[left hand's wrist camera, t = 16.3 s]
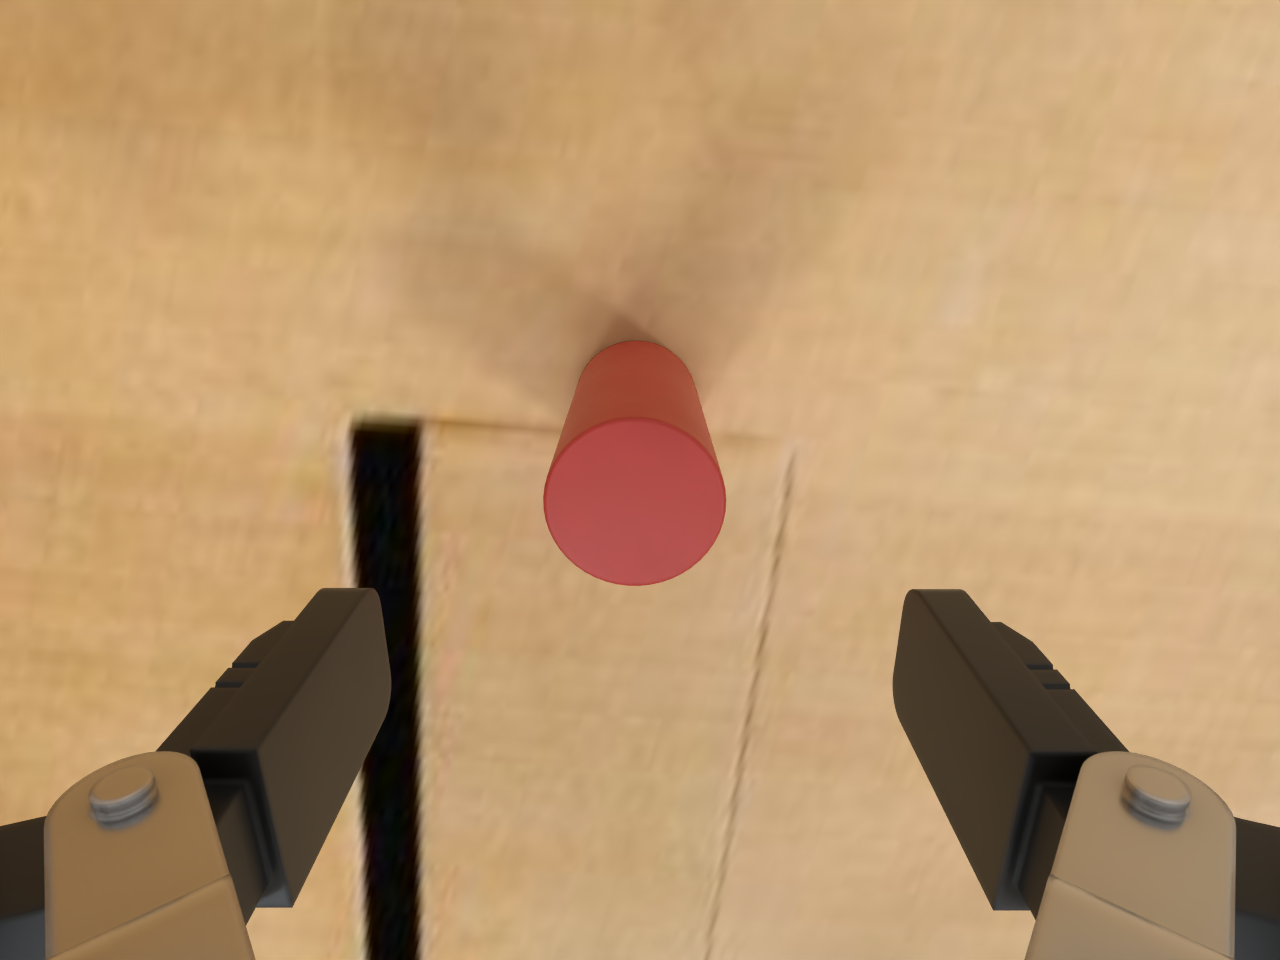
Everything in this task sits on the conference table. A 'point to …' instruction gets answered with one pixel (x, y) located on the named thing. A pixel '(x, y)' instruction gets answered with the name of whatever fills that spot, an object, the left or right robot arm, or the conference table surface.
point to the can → (635, 470)
